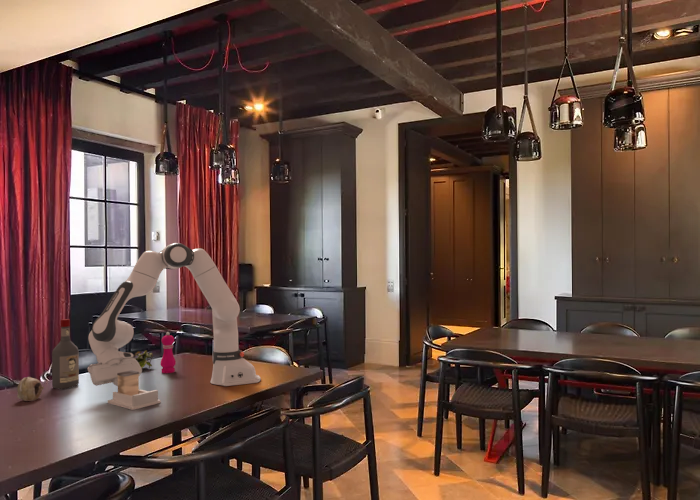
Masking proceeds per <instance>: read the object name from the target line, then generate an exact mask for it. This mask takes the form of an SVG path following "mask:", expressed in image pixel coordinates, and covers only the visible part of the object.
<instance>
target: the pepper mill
mask: <svg viewBox="0 0 700 500" xmlns="http://www.w3.org/2000/svg"><path fill="white" fill-rule="evenodd" d="M170 334H171V333H170V332H169V331H167V332H166V333H165V335H163V336H162V338H161V343H162V349H163V354H162V358H161V360H160V367H161V373H162V374H172V373H175V372H176V371H175V370H176V368H175V365H176V358H175V356H174V353H173V348H174V342H175V338H174V336H173V335H172V334H171V335H170Z"/></svg>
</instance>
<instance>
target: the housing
mask: <svg viewBox="0 0 700 500" xmlns="http://www.w3.org/2000/svg"><path fill="white" fill-rule="evenodd" d="M160 403H162V401H161V399H159V390H158V389H153V390H150V391H149V390H148V391H147V390H145V389H139V394H136V395H132V396H130V395H126V394H122V393H118V391H113V392H112V399H108V400H107V404H109V405H114V406H116V407H117V406H118V407H121V408H125V409H128V410H132V411H134V410H138V409H141V408H146V407H149V406H154V405H156V404H157V405H158V404H160Z"/></svg>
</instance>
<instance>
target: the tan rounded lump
mask: <svg viewBox="0 0 700 500" xmlns="http://www.w3.org/2000/svg"><path fill="white" fill-rule="evenodd" d="M44 389H45V387H44V386H43V384H42V383H41V381H40V380H39V379H37V378H35V377H31V376H27V377H23V378H22V379H21V380H20V381H19V383H18V385H17V389H16V390H17V398H18V399H20V400H22V401H24V402H28V401H29V402H31V401H36V400H38V399H39V398H40V397H41V394H42V391H43V390H44Z"/></svg>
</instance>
